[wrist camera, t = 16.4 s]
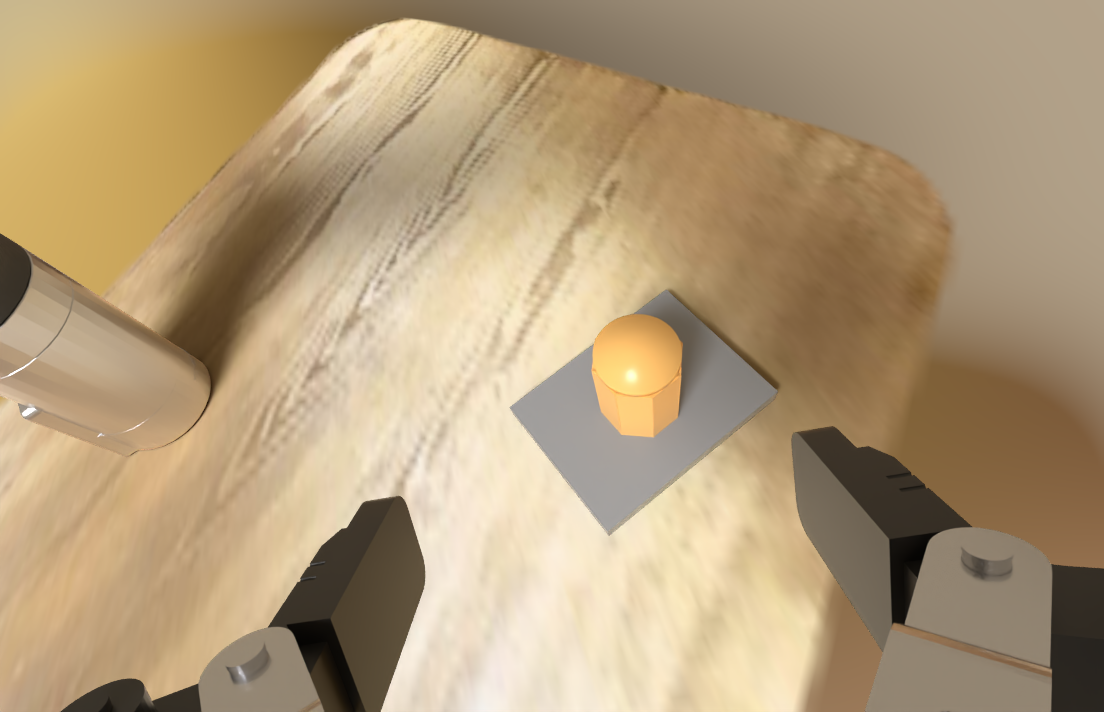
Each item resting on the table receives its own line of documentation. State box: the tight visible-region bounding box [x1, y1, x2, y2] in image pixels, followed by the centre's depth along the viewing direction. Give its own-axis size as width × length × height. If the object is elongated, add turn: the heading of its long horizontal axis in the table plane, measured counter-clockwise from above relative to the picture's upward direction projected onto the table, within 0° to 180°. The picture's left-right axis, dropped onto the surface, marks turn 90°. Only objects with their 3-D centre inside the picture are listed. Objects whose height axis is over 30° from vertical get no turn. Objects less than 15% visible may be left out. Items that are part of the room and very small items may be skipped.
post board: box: [510, 290, 778, 535], centre depth 42 cm, size 16×12×8 cm
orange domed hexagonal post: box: [591, 314, 683, 437], centre depth 40 cm, size 6×6×8 cm
